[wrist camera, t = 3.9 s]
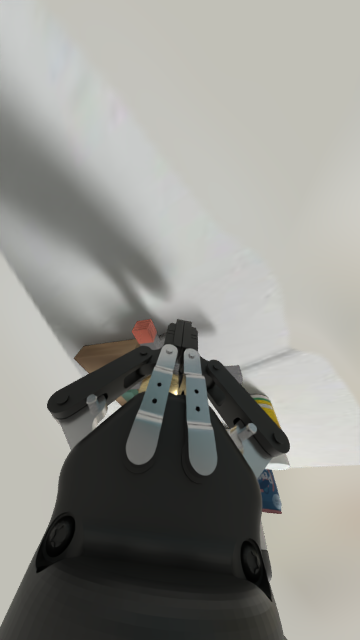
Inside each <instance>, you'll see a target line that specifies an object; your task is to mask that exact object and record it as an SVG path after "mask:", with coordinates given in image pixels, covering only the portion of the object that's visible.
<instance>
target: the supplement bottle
mask: <svg viewBox="0 0 360 640" xmlns="http://www.w3.org/2000/svg"><path fill="white" fill-rule="evenodd" d="M250 396H251V397H252V398H253V399H254V400H255V401H256V402H257V403H258V404H259V405H260V407H261V408H262V409H263V410H264V411H265V412H266V413H267V414H268V415H269V417H270V418H271V419H272V420H273V421H274V422H275V423H276V424H277V425H278V426H279V428H280V429H281V427H280V424H279V422H278V419H277V416H276V414H275V411H274V409H273V406H272V403H271V401H270V399H269V398H268V397H266V396H263V395H258V394H255V395H250ZM289 468H290V464H289V461H288V458H287V456H286V454H282V455H279V456H277V457H274V458H272V459H271V461H270V462H269V463H268V465H267V466H266V468H265V469H270V470H285V469H289Z"/></svg>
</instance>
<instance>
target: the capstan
mask: <svg viewBox="0 0 360 640" xmlns="http://www.w3.org/2000/svg"><path fill="white" fill-rule="evenodd" d="M132 333H133V335H134V336H135V338H136V340H137V342H138V343H139V344H140V345H141V346H148V347H150V348H151V349H152V350H156V349H160V348H161V347H163V345H164V342H165V337H166V334H163V335H161V336H159V337H158V335H157V331H156V329H155V326H154V324H153V322H152V320H151V319H149V320H143V321H137V322H136V324H135V326H134V328H133V330H132ZM177 360H178V359H177ZM179 365H180V364H178V363H175V366H174V370H173V376H172V380H171V384H170V389H169V392H171V393H173V394H175V395H177V390H178V370H179ZM224 367H225V368H226V369H227V370H228V371H229V372H230V373H231V375H232V376H233V377H234V378H235V379H236V380H237V381H238V382H239V383H240V384H242V374H241V370H240V366H239V365H237V366H224ZM151 375H152V374H150V375H148V376H147V377H146V378H145V379H143V380H142V381H141V382H139V383H138V384H136V385H135V386H134V387H132V388H131V389H139V393H141V392H143V391H146V389H147V386H148V383H149V380H150V378H151Z"/></svg>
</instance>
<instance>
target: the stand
mask: <svg viewBox="0 0 360 640" xmlns="http://www.w3.org/2000/svg"><path fill="white" fill-rule="evenodd" d="M140 346H141V345H140V344H139V343H138V342H137V340H136V339H132V340H125V341H118V342H110V343H103V344H95V345H88V346H83V348H82V349H81V350H80V351H79V353H78V354H77V355H76V356H75V357H74V359H75V360H76V361H77V362H78V363H79V364H80V365H81V366H82V367H83V368H84V369H85V370H86V371H87V372H88V373H89V374H90V373H91V372H93V371H95V370H97V369H99V368H101V367H103V366H104V365H106V364H108V363H110V362H112V361H114V360H115V359H117V358H119V357H121V356H123V355H125V354H126V353H128V352H130V351H132V350H134V349H136V348H138V347H140ZM137 394H139V389H130V390H128V391H127V392H125V393H124V394H123V395H121V396H120V397H119V398H117V399H116V401H117V402H118V403H119V404H120V405H121V406H123V405H124V404H125V403H126V402H128V401H129V400H130V399H131V398H132V397H134V396H135V395H137Z"/></svg>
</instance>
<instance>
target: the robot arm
mask: <svg viewBox="0 0 360 640" xmlns="http://www.w3.org/2000/svg"><path fill="white" fill-rule="evenodd" d="M191 326H192V322H189V321H184V320H179V319H177V322H176V324H174V323H171V324H170V325H169V326H168V329H167V333H166V337H165V342H164V345H163V347H161V348H160V349H156V350H152V349H151V348H150V347H148V346H140V347H138V348H136V349H134V350H132V351H130V352H128V353H126V354H125V355H123V356H121V357H119V358H117V359H115V360H114V361H112V362H110V363H108V364H106V365H104V366H103V367H101V368H99V369H97V370H95V371H93V372H91V373H90V374H88V375H86V376H84V377H82V378H80V379H79V380H77V381H75V382H73V383H71V384H70V385H68V386H66V387H64V388H62V389H60V390H58V391H57V392H55V393H54V394H53V395H52V396H51V397H50V399H49V400H48V404H47V408H48V410H49V411H50V412H51V414H52V416H53V417H54V419H55V420H56V421H57V422H58V423H59V424H60V425H61V427H62V429H63V432H64V434H65V436H66V439H67V441H68V444H69V446H70V449H71V452H70V453H69V455H68V456H67V458H66V460H65V462H64V464H63V466H62V469H61V472H60V476H59V484H58V494H57V500H56V504H55V508H54V511H53V514H52V517H51V520H50V523H49V525H48V528H47V530H46V532H45V534H44V536H43V538H42V540H41V542H40V544H39V546H38V548H37V551H36V552H35V554H34V557H33V558H32V561H31V563H30V565H29V567H28V569H27V571H26V574H25V575H24V578H23V580H22V582H21V584H20V586H19V588H18V590H17V593H16V595H15V597H14V599H13V601H12V603H11V606H10V608H9V610H8V612H7V614H6V616H5V618H4V620H3V622H2V625H1V627H0V640H287V639H286V637H285V636H284V635H283V630H282V625H281V621H280V618H279V613H278V610H277V607H276V603H275V600H274V597H273V594H272V590H271V587H270V583H269V581H270V580H271V577H272V572H271V565H270V560H269V555H268V551H267V546H266V542H265V536H264V532H263V527H262V522H261V514H262V495H261V490H260V486H259V483H258V481H257V479H258V477H259V476H260V475H261V473H262V472H263V470H264V469H265V468H266V466H267V465H268V463H269V462H270V461H271V459H272V458H274V457H277V456H279V455H282V454H285V453H287V452H288V451H289V449H290V444H289V440H288V438H287V436H286V435H285V433H284V432H283V431H282V430H281V429H280V428H279V426H278V425H277V424H276V423H275V422H274V421H273V420H272V419H271V418H270V417H269V415H268V414H267V413H266V412H265V411H264V410H263V409H262V408H261V407H260V405H259V404H258V403H257V402H256V401H255V400H254V399H253V398H252V397H251V396H250V394H249V393H248V392H247V391H246V390H245V389H244V388H243V387H242V386H241V384H240V383H239V382H238V381H237V380H236V379H235V378H234V377H233V376H232V375H231V373H230V372H229V371H228V370H227V369H226V368H225V367H224V366H223V365H222V364H221V363H220V362H219V361H217V360H210V361H207V360H205V359H203V358H202V357H201V356H200V355H199V353H198V332H197V330H196V328H193V327H191ZM177 359H178V360H177ZM175 363H178V364H180V365H179V370H178V390H177V395H175V394H173V393H171V392H169V389H170V384H171V380H172V376H173V370H174V366H175ZM150 374H152V375H151V378H150V380H149V383H148V386H147V389H146V391H143V392H141V393H139V394H137V395H135V396H134V397H132V398H131V399H130V400H129V401H128V402H126V403H125V404H124V405H123V406H122V407H120V408H119V409H118V410H117V411H116V412H114V413H113V414H112V415H111V416H110V417H108V418H107V419H106V420H105V421H104V422H102V423H101V424H100V425H99V426H98V427H96V426H97V425H98V423H99V422H100V421H101V420H102V419H103V418H104V416H105V415H106V413H107V409H108V407H107V406H108V405H109V404H110V403H112V402H113V401H114V400H116V399H117V398H119V397H120V396H121V395H123V394H124V393H125V392H127V391H128V390H130V389H131V388H132V387H134V386H135V385H136V384H138V383H139V382H141V381H142V380H143V379H145V378H146V377H147V376H148V375H150ZM207 397H208V398H207ZM208 399H209V400H210V401H211V403H212V404H213V406H214V407H215V408H216V410H217V411H218V413H219V414H220V416H221V417H222V418H223V420H224V421H225V423H226V424H227V425H228V427H229V428H230V429H225V427H224V426H223V424H222V423H221V421H220V420H219V418H218V417H217V415H216V414H215V412H214V411H213V409H212V408H211V407H210V406H209V405H208Z"/></svg>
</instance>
